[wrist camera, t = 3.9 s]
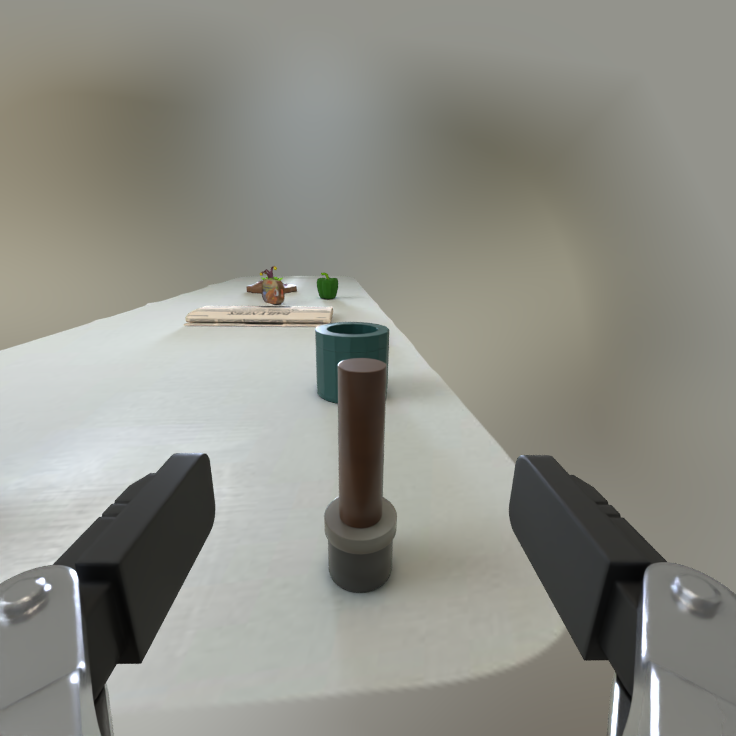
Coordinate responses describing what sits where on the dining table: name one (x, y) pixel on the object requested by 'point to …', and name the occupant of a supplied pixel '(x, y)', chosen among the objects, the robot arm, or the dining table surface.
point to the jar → (346, 351)
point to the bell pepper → (327, 287)
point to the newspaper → (259, 316)
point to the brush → (360, 482)
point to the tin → (272, 291)
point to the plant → (258, 286)
